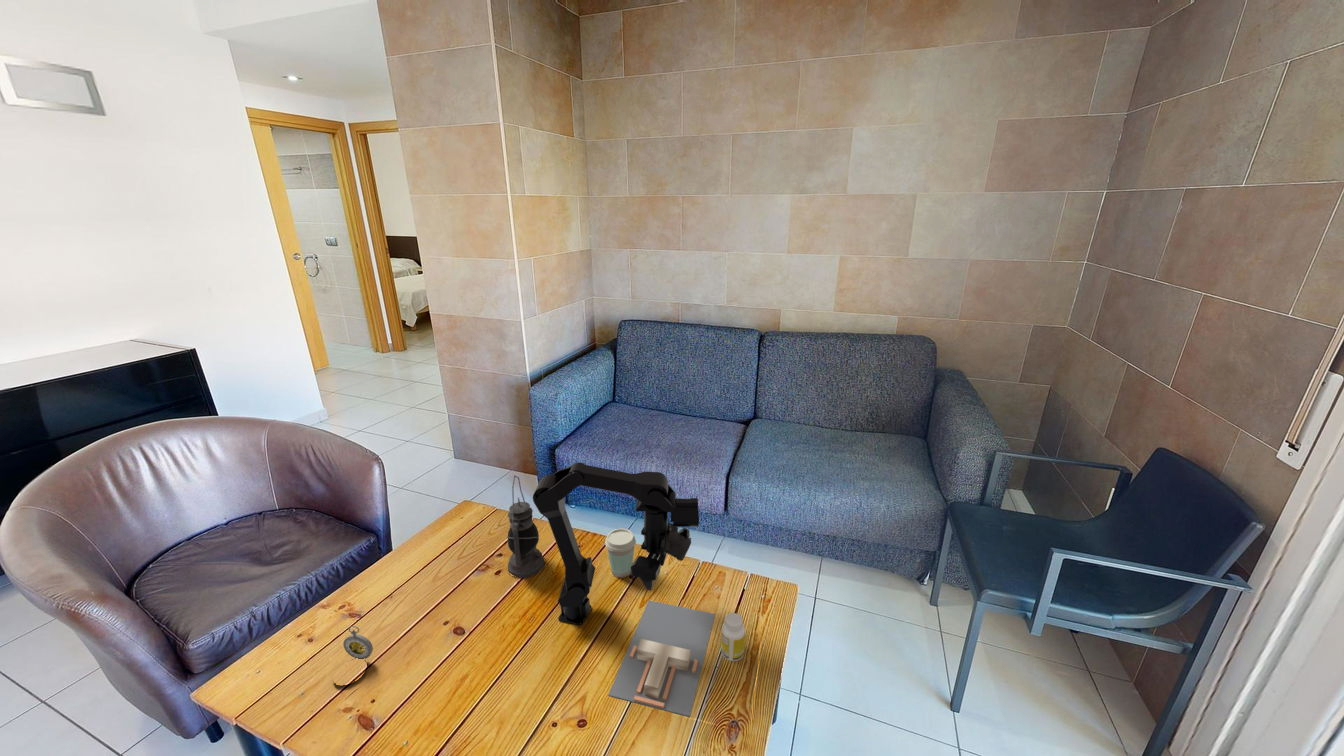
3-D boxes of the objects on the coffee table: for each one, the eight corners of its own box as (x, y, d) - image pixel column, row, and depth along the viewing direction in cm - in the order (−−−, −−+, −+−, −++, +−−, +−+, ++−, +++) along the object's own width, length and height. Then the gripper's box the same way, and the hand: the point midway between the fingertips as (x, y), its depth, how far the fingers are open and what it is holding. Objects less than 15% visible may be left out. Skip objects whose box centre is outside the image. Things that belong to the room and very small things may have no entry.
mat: (608, 696, 106) (608, 693, 105) (648, 601, 131) (648, 598, 131) (690, 717, 101) (690, 714, 101) (715, 615, 127) (715, 612, 126)
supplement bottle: (746, 646, 118) (747, 613, 114) (741, 665, 113) (743, 631, 110) (723, 640, 119) (725, 608, 116) (718, 658, 114) (719, 625, 111)
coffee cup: (642, 568, 143) (641, 533, 140) (624, 586, 137) (622, 550, 133) (619, 557, 148) (617, 523, 144) (600, 574, 141) (598, 539, 137)
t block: (625, 690, 107) (624, 679, 106) (641, 648, 117) (641, 638, 116) (678, 703, 104) (678, 693, 103) (690, 660, 114) (690, 650, 113)
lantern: (538, 580, 139) (528, 487, 129) (501, 580, 139) (488, 487, 129) (549, 551, 150) (540, 464, 141) (514, 551, 151) (503, 464, 141)
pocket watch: (331, 692, 107) (321, 657, 103) (336, 662, 114) (326, 629, 110) (375, 677, 110) (366, 642, 107) (376, 649, 117) (368, 615, 114)
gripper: (676, 555, 108) (675, 612, 113) (698, 509, 125) (696, 560, 130) (629, 545, 111) (630, 600, 116) (656, 501, 128) (656, 551, 133)
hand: (655, 577), depth 123 cm, fingers open, 9 cm apart
